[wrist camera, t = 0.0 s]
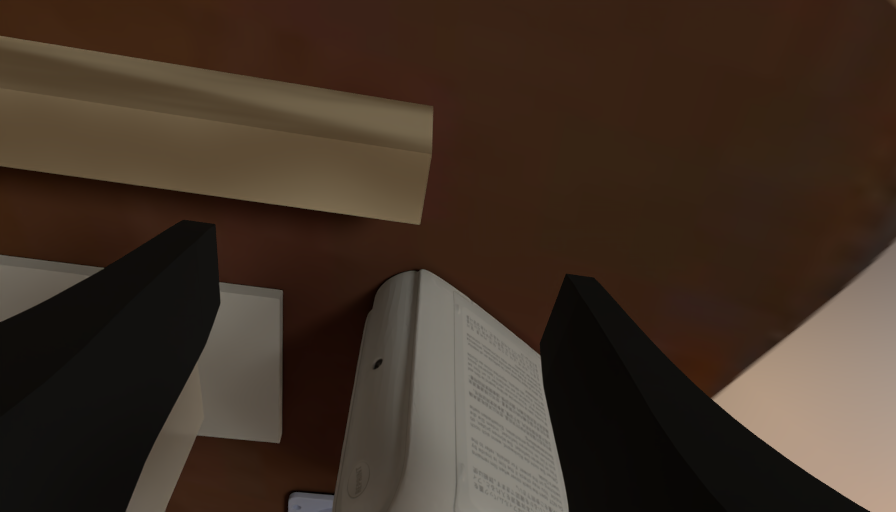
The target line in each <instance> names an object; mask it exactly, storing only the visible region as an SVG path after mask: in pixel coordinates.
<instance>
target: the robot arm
mask: <svg viewBox="0 0 896 512" xmlns="http://www.w3.org/2000/svg"><path fill="white" fill-rule="evenodd" d="M220 304H221V302H220V287H219V272H218V257H217V242H216V227H215V224H210V223H203V222H196V221H189V220H182V221H180V222H179V223H177V224H175V225H174V226H172V227H170V228H169V229H167V230H165V231H164V232H162V233H161V234H159V235H157V236H156V237H154V238H153V239H151V240H149V241H148V242H146V243H145V244H143V245H141V246H140V247H138V248H137V249H135V250H133V251H132V252H130V253H129V254H127V255H125V256H124V257H122V258H120V259H119V260H117V261H115V262H114V263H112V264H110V265H109V266H107V267H105V268H104V269H102V270H100V271H99V272H97V273H95V274H93V275H92V276H90V277H88V278H86V279H84V280H82V281H81V282H79V283H77V284H75V285H73V286H71V287H70V288H68V289H66V290H64V291H62V292H61V293H59V294H57V295H55V296H53V297H51V298H50V299H48V300H46V301H44V302H42V303H40V304H38V305H36V306H34V307H32V308H30V309H27V310H25V311H23V312H21V313H19V314H17V315H15V316H13V317H10V318H8V319H6V320H4V321H1V322H0V512H126V509H127V507H128V504H129V502H130V499H131V497H132V494H133V492H134V489H135V487H136V484H137V482H138V479H139V477H140V474H141V472H142V469H143V467H144V464H145V462H146V460H147V458H148V456H149V454H150V451H151V449H152V447H153V445H154V443H155V441H156V439H157V437H158V435H159V433H160V431H161V430H162V428H163V426H164V424H165V422H166V420H167V418H168V416H169V414H170V413H171V411H172V409H173V407H174V405H175V403H176V401H177V399H178V397H179V396H180V394H181V392H182V390H183V388H184V386H185V384H186V382H187V380H188V379H189V377H190V375H191V373H192V371H193V369H194V367H195V365H196V363H197V361H198V359H199V357H200V355H201V353H202V351H203V349H204V347H205V345H206V343H207V340H208V337H209V335H210V332H211V329H212V327H213V324H214V321H215V318H216V315H217V312H218V309H219V306H220ZM540 354H541V368H542V379H543V387H544V392H545V397H546V402H547V407H548V411H549V416H550V421H551V425H552V430H553V434H554V439H555V443H556V448H557V452H558V456H559V461H560V465H561V470H562V474H563V479H564V484H565V490H566V495H567V501H568V509H569V512H870V511H868V510H866V509H865V508H863V507H861V506H859V505H858V504H856V503H855V502H853V501H851V500H850V499H848V498H846V497H845V496H843V495H841V494H840V493H839V492H837V491H836V490H834V489H832V488H831V487H829V486H828V485H826V484H825V483H823V482H821V481H820V480H818V479H817V478H815V477H814V476H812V475H811V474H809V473H808V472H806V471H805V470H803V469H802V468H800V467H799V466H797V465H796V464H794V463H793V462H792V461H790V460H789V459H787V458H786V457H784V456H783V455H782V454H780V453H779V452H777V451H776V450H775V449H774V448H772V447H771V446H769V445H768V444H766V443H765V442H764V441H763V440H761V439H760V438H758V437H757V436H756V435H754V434H753V433H752V432H751V431H749V430H748V429H747V428H746V427H744V426H743V425H742V424H740V423H739V422H738V421H737V420H735V419H734V418H733V417H732V416H731V415H729V414H728V413H727V412H726V411H725V410H724V409H722V408H721V407H720V406H719V405H718V404H717V403H715V402H714V401H713V400H712V399H711V398H709V397H708V396H707V395H706V394H705V393H704V392H703V391H702V390H700V389H699V388H698V387H697V386H696V385H695V384H694V383H693V382H692V381H691V380H690V379H689V378H688V377H687V376H686V375H685V374H684V373H683V372H682V371H681V370H679V369H678V368H677V367H676V366H675V365H674V364H673V363H672V362H671V361H670V360H669V359H668V358H667V357H666V356H665V355H664V354H663V353H662V351H661V350H660V349H659V348H658V347H657V346H656V345H655V344H654V343H653V342H652V341H651V340H650V339H649V338H648V337H647V336H646V334H645V333H644V332H643V331H642V330H641V329H640V328H639V327H638V326H637V325H636V323H635V322H634V321H633V320H632V319H631V318H630V317H629V316H628V315H627V313H626V312H625V311H624V310H623V309H622V308H621V307H620V306H619V304H618V303H617V302H616V301H615V300H614V299H613V298H612V297H611V295H610V294H609V293H608V292H607V291H606V290H605V289H604V288H603V287H602V286H601V284H600V283H599V282H598V281H597V280H596V279H595V278H593V277H585V276H578V275H571V274H566V275H565V278H564V281H563V283H562V286H561V289H560V291H559V294H558V297H557V299H556V302H555V305H554V307H553V310H552V313H551V315H550V318H549V321H548V323H547V326H546V328H545V331H544V334H543V336H542V339H541V342H540ZM333 500H334V495H325V494H314V493H302V492H294V493H292V494H290V496H289V500H288V512H332V507H333Z"/></svg>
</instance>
